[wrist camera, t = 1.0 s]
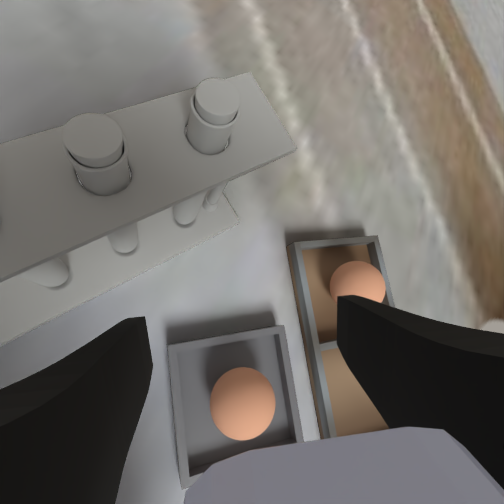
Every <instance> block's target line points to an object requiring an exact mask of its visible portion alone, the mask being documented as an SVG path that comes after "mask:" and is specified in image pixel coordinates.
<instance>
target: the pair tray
mask: <svg viewBox="0 0 504 504" xmlns="http://www.w3.org/2000/svg"><path fill="white" fill-rule="evenodd" d="M286 249H287V254H288V260H289V265H290V271H291V276H292V282H293V287H294V293H295V298H296V304H297V309H298V315H299V320H300V326H301V332H302V337H303V343H304V348H305V354H306V359H307V365H308V370H309V376H310V381H311V387H312V392H313V398H314V403H315V409H316V414H317V420H318V426H319V431H320V437H321V439H327V438H334V437H341V436H347V435H354V434H360V433H367V432H374V431H380V430H387V429H389V427H388V426H387V424H386V422H385V421H384V419H383V418H382V416H381V415H380V413H379V412H378V410H377V409H376V407H375V406H374V404H373V403H372V401H371V400H370V399H369V397H368V396H367V394H366V393H365V391H364V390H363V388H362V387H361V385H360V384H359V383H358V381H357V380H356V378H355V377H354V375H353V374H352V372H351V371H350V369H349V368H348V366H347V364H346V362H345V360H344V358H343V356H342V354H341V352H340V350H339V348H338V346H337V304H336V303H335V302H334V300H333V298H332V296H331V293H330V280H331V277H332V275H333V273H334V272H335V270H336V269H337V268H338V267H340V266H341V265H343V264H345V263H347V262H351V261H363V262H366V263H369V264H371V265H373V266H374V267H375V268H377V269H378V270H379V272H380V273H381V274H382V276H383V278H384V281H385V286H386V291H385V296H384V298H383V301H382V302H381V303H382V304H385V305H388V306H391V307H394V308H395V305H394V301H393V297H392V292H391V288H390V284H389V280H388V276H387V272H386V268H385V264H384V260H383V256H382V251H381V247H380V243H379V239H378V235H377V236H364V237H352V238H339V239H326V240H314V241H301V242H293V243H292V244H290V245H288V246H287V247H286Z"/></svg>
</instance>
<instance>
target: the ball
mask: <svg viewBox="0 0 504 504" xmlns="http://www.w3.org/2000/svg"><path fill="white" fill-rule="evenodd" d="M385 291H386V286H385V281H384V278H383V276H382V274H381V273H380V272H379V270H378V269H377V268H375V267H374V266H373V265H371V264H369V263H366V262H363V261H351V262H347V263H345V264H343V265H341V266H340V267H338V268H337V269H336V270H335V272H334V273H333V275H332V277H331V280H330V293H331V296H332V298H333V300H334V302H335V303H336V304H337V296H345V295H357V296H361V297H365V298H368V299H371V300H374V301H377V302H380V303H381V302H382V301H383V298H384V296H385Z"/></svg>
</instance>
